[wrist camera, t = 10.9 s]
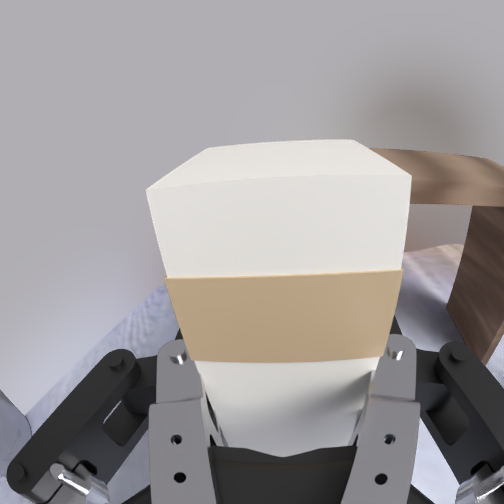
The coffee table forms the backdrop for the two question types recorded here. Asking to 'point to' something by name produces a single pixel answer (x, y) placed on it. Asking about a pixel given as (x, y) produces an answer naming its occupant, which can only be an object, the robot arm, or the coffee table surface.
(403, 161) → the shelf bay
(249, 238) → the carton
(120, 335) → the coffee table surface
